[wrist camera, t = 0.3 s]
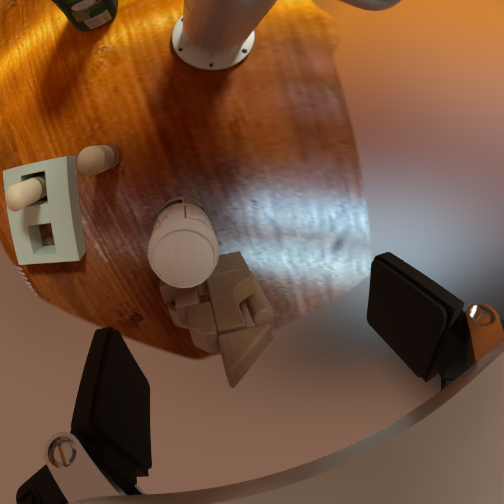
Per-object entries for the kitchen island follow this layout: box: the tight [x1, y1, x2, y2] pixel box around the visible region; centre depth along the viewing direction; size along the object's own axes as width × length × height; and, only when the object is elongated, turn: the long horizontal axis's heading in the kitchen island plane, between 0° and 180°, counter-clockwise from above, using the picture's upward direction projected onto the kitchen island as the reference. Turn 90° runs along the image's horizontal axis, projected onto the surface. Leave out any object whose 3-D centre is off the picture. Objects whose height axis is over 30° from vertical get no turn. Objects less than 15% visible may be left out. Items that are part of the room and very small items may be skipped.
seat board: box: [3, 155, 87, 265], centre depth 30 cm, size 16×13×10 cm
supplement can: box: [148, 196, 220, 288], centre depth 35 cm, size 8×8×15 cm
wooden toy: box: [159, 251, 275, 388], centre depth 36 cm, size 16×7×25 cm, turn 97°
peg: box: [77, 145, 122, 176], centre depth 31 cm, size 4×4×10 cm
